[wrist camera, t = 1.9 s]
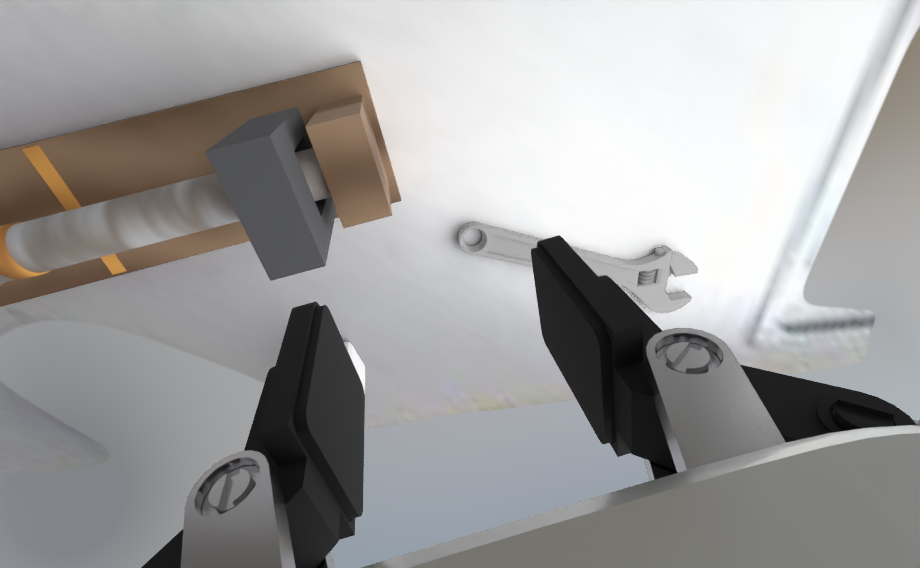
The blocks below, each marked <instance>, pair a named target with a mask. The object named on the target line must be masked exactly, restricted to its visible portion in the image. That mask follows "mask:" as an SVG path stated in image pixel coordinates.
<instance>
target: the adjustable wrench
mask: <svg viewBox="0 0 920 568" xmlns="http://www.w3.org/2000/svg"><path fill="white" fill-rule="evenodd" d="M474 228H475V229H478V230H479V231H481V233H482V240H481V241H480V242H479V243H478V244H477V245H474V246H469V245H467V244H466V243H465V242H464V239H463V237H464V234H465V233H466V232H467V231H468V230H470V229H474ZM541 240H544V239H540V238H536V237H532V236H529V235H525V234H521V233H517V232H513V231H509V230H505V229H501V228H497V227H494V226H490V225H486V224H482V223H478V222H469V223H467V224H465V225H463V226H462V227H461V228H460V230H459V232H458V242H459V244H460V247H461V248H462V250H463V251H465V252H466V253H468V254H472V255H477V256H482V257H487V258H492V259H497V260H502V261H507V262H512V263H517V264H521V265H526V266H531V267H533V265H532V258H531V249H533V248H536V247H537V242H538V241H541ZM570 247H571V246H570ZM571 248H572V249H573V250H574V251H575V252H576V253H577V254H578V255H579V256H580V257H581V259H582V260H583V261H584V262H585V263H586V264H587V265H588V266H589V267H590V268H591V269H592V270H593V271H594V272H595V274H596V275H597V276H598V277H599V276H602V275H607V276H608V277H610V278H611V279H612V280H613V281H614V282H615V283H616V284H618V285H622V286H624V287H626V288H627V289H629V290H630V291H631V292H633V293H634V294H635V295H636V296H637V297H638V298H639V299H640V300H641V301H642V302H643V303H644V304H645V305H646V306H647V307H648V308H649V309H650V310H652V311H654V312H657V313H669V312H672V311H675V310H677V309H679V308H682V307H683V306H685V305H686V304H687V303H688V302H690V300H691V298H692V297H691V296H690V295H689V294H688V293H686V292H685V291H682V292H677V293H671V294H667V293H666V291H665V290H666V286H667V280H668V277H669V276H670V274H673V275H674V276H675V277H677V276H683V275H689V274H695V273H697V272H698V268H697V266H696V265H695V264H694V263H693V262H692V261H691V260H689V259H688V258H687V257H685V256H684V255H682V254H681V253H679V252H675V251H672V250H671V249H670V248H668V247H667V246H663V247H661V248H656V249H655V253H653V254H651V255H648V256H645V257H642V258H640V259H635V260H623V259H618V258H614V257H610V256H606V255H602V254H599V253H595V252H591V251H587V250H583V249H579V248H575V247H571Z"/></svg>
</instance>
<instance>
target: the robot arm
mask: <svg viewBox="0 0 920 568" xmlns="http://www.w3.org/2000/svg"><path fill="white" fill-rule="evenodd" d="M531 258H532V265H533V273H534V280H535V287H536V294H537V301H538V308H539V315H540V323H541V330H542V335H543V338H544V341H545V344H546V346H547V347H548V349H549V351H550V353H551V355H552V356H553V358H554V360H555V362H556V364H557V365H558V367H559V369H560V371H561V372H562V374H563V376H564V378H565V380H566V381H567V383H568V385H569V387H570V389H571V390H572V392H573V394H574V396H575V397H576V399H577V401H578V403H579V405H580V406H581V408H582V410H583V411H584V413H585V415H586V417H587V419H588V421H589V422H590V424H591V426H592V428H593V430H594V431H595V433H596V435H597V437H598V438H599V440H600V442H601V443H602V444H606V443H610V444H611V446H612V448H613V449H614V451H615V452H616V454H617V456H618V457H619V456H622V455H625V454H629V453H632V454H633V455H636V456H639V457H641V458H644V459H645V465H646V469H647V473H648V476H649V480H650V481H649V482H645V483H642V484H639V485H635V486H632V487H628V488H625V489H622V490H618V491H615V492H611V493H608V494H605V495H602V496H598V497H595V498H591V499H588V500H584V501H581V502H578V503H574V504H571V505H568V506H564V507H561V508H558V509H554V510H551V511H548V512H544V513H541V514H538V515H534V516H531V517H527V518H524V519H521V520H517V521H514V522H511V523H507V524H504V525H501V526H498V527H494V528H491V529H487V530H484V531H481V532H478V533H474V534H471V535H468V536H464V537H461V538H458V539H454V540H451V541H448V542H444V543H441V544H438V545H435V546H431V547H428V548H424V549H421V550H418V551H415V552H411V553H408V554H405V555H401V556H399V557H395V558H392V559H388V560H385V561H382V562H379V563H376V564H372V565H369V566H365V567H362V568H920V420H919V421H916V420H912V419H911V418H910V416H909V415H907V414H906V413H904V412H903V411H901V410H900V409H899V408H897V407H896V406H894V405H892V404H890V403H888V402H886V401H884V400H882V399H880V398H878V397H875V396H872V395H868V394H865V393H862V392H858V391H853V390H849V389H845V388H841V387H835V386H831V385H827V384H823V383H818V382H814V381H809V380H805V379H801V378H796V377H792V376H787V375H783V374H779V373H774V372H770V371H765V370H761V369H756V368H752V367H748V366H743V365H740V364H739V362H738V361H737V359H736V357H735V356H734V354H733V352H732V351H731V349H730V348H729V347H728V346H727V344H726V343H725V342H724V341H722V340H721V339H719V338H718V337H716V336H715V335H712V334H710V333H707V332H705V331H702V330H697V329H691V328H674V329H669V330H664V331H662V330H661V329H660V328H659V327H658V326H657V325H656V324H655V323H654V322H653V321H652V320H651V319H650V318H649V317H648V316H647V315H646V314H645V313H644V312H643V311H642V310H641V309H640V308H639V307H638V306H637V305H636V304H635V303H634V301H633V300H632V299H631V298H630V297H629V296H628V295H627V294H626V293H625V292H624V291H623V290H622V289H621V288H620V287H619V286H618V285H617V284H616V283H615V282H614V281H613V280H612V279H611V278H610V277H608V276H607V275H602V276H599V277H598V276H597V275H596V274H595V272H594V271H593V270H592V269H591V268H590V267H589V266H588V265H587V264H586V263H585V262H584V261H583V260H582V259H581V257H580V256H579V255H578V254H577V253H576V252H575V251H574V250H573V249H572V248H571V247H570V246H569V245H568V244H567V242H566V241H565V240H564V239H563V238H562V237H561V236H555V237H552V238H548V239H544V240H541V241H538V242H537V247H536V248H533V249H531ZM364 408H365V394H364V388H363V385H362V382H361V380H360V378H359V375H358V373H357V371H356V369H355V366H354V364H353V362H352V360H351V357H350V355H349V353H348V351H347V349H346V346H345V344H344V342H343V340H342V337H341V335H340V333H339V331H338V328H337V326H336V324H335V322H334V319H333V317H332V315H331V313H330V311H329V309H328V307H327V306H326V305H324V306H319V304H318V303H317V302H313V303H309V304H306V305H302V306H298V307H295V308H293V309H292V311H291V314H290V318H289V321H288V325H287V328H286V332H285V335H284V339H283V342H282V346H281V349H280V353H279V356H278V360H277V363H276V366H275V367H272V368H271V369H270V370H269V372H268V374H267V377H266V381H265V384H264V387H263V391H262V394H261V397H260V400H259V404H258V407H257V410H256V414H255V417H254V420H253V424H252V427H251V430H250V434H249V437H248V440H247V443H246V447H245V450H244V451H241V452H237V453H235V454H232V455H229V456H227V457H225V458H224V459H222V460H220V461H219V462H218V463H215V464H214V465H213V466H212V467H211V468H209V469H208V470H207V471H206V472H205V473H204V474H203V475H202V476H201V477H200V478H199V479H198V481H197V482H196V483H195V484H194V486H193V488H192V489H191V491H190V493H189V495H188V498H187V501H186V505H185V513H184V528H183V530H182V531H180V532H179V533H178V534H177V535H176V536H175V537H174V538H173V539H172V540H171V541H170V542H169V543H167V544H166V545H165V546H164V547H163V548H162V549H161V550H160V551H159V552H158V553H157V554H156V555H155V556H154V557H152V558H151V559H150V560H149V561H148V562H147V563H146V564H145V565H144V566H143V567H142V568H335V567H334V563H333V558H332V555H331V553H330V551H331V550H332V548H333V547H334V546H335V545H336V544H337V542H338V540H339V539H343V538H346V537H349V536H353V535H354V533H355V518H356V517H359V516H361V515H362V512H363V467H364V464H363V463H364Z"/></svg>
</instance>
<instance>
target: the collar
mask: <svg viewBox="0 0 920 568" xmlns="http://www.w3.org/2000/svg"><path fill="white" fill-rule="evenodd" d="M311 148H313V146H312V144H311V141H310V138H309V136H308V133H307V131H306V128H305V125H304V122H303V120H302V117H301V114H300V112H299V109H298V107H296V108H292V109H288V110H284V111H280V112H276V113H272V114H268V115H264V116H260V117H256V118H252V119H250V120H249V121H247V122H246V123H244V124H243V125H242V126H240V127H239V128H237V129H236V130H235V131H233V132H232V133H230V134H229V135H228V136H226V137H225V138H223V139H222V140H221V141H219V142H218V143H216V144H215V145H214V146H212V147H211V148H209V149H208V150H207V151H205V153H206V155H207V157H208V159H209V161H210V163H211V165H212V167H213V169H214V171H215V173H216V175H217V177H218V179H219V181H220V183H221V185H222V187H223V189H224V190H225V192H226V194H227V196H228V198H229V200H230V202H231V204H232V206H233V208H234V210H235V212H236V214H237V216H238V218H239V220H240V222H241V224H242V226H243V228H244V230H245V232H246V234H247V235H248V237H249V239H250V241H251V243H252V245H253V247H254V249H255V251H256V253H257V255H258V257H259V259H260V261H261V263H262V265H263V267H264V269H265V271H266V273H267V275H268V277H269V279H270V280H275V279H279V278H282V277H286V276H290V275H294V274H297V273H301V272H305V271H308V270H312V269H316V268H320V267H323V266H325V265H326V260H327V255H328V249H329V244H330V239H331V234H332V229H333V224H334V219H335V214H336V207H335V204H334V202H333V199H332V197H329V198H326V199H322V200H318V201H314V198H313V196H312V193H311V191H310V188H309V186H308V183H307V181H306V178H305V176H304V173H303V171H302V168H301V166H300V163H299V161H298V158H297V156H296V153H295V152H299V151H303V150H307V149H311Z"/></svg>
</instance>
